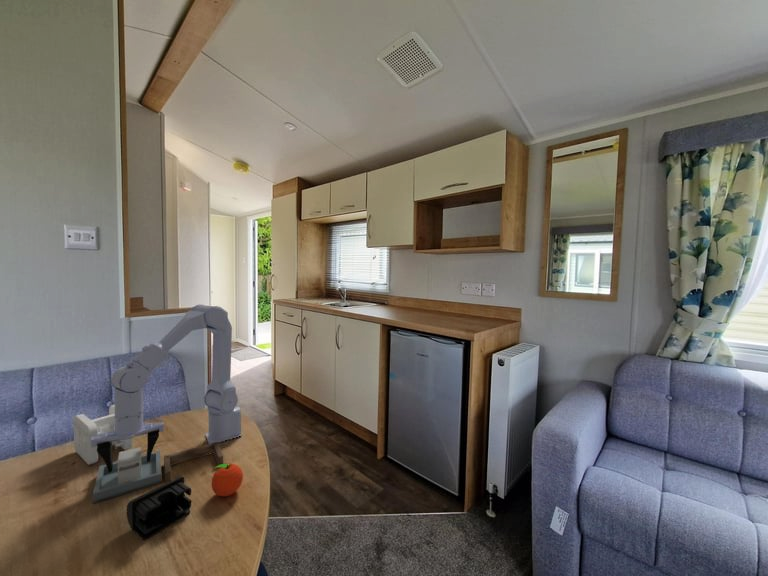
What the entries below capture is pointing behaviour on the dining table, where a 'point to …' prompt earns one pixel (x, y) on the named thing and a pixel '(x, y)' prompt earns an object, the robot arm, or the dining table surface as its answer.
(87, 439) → the cable organizer
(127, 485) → the slate tray
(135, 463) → the box
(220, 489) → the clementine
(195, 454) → the walnut bay
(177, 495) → the end cap
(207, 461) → the dining table surface
